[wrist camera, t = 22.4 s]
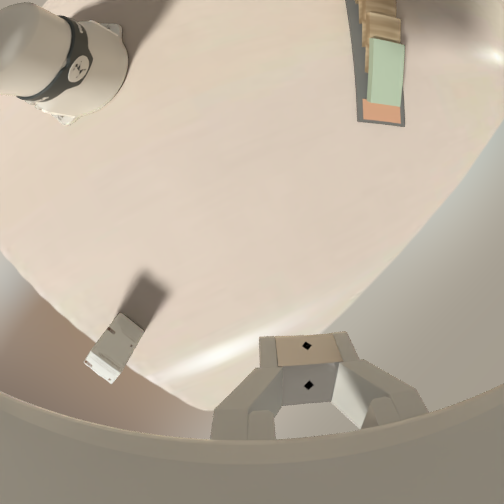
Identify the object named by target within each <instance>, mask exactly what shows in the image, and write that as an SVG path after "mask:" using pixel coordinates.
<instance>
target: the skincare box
mask: <svg viewBox="0 0 504 504" xmlns="http://www.w3.org/2000/svg"><path fill="white" fill-rule="evenodd" d="M143 334H144V331H143V330H142V329H141V328H140V327H139V326H138V325H136V324H135V323H134V322H133V321H131V320H130V319H129V318H127V317H126V316H125V315H124V314H122V313H119V314H118V315H117V317H116V318H115V319H114V320H113V322H112V323H111V324H110V326H109V327H108V328H107V329H106V331H105V332H104V333H103V335H102V336H101V337H100V339H99V340H98V341H97V343H96V344H95V345H94V347H93V348H92V349H91V351H90V352H89V354H88V356H87V357H86V359H85V360H84V363H85V364H86V365H87V366H88V367H90V368H91V369H92V370H93V371H94V372H96V373H97V374H98V375H99V376H101V377H103V378H104V379H105V380H107V381H108V382H110V383H111V384H112V383H113V382H114V381H115V379H116V378H117V377H118V376H119V374H121V372H122V371H123V369H124V367H125V365H126V363H127V362H128V360H129V358H130V356H131V354H132V353H133V351H134V349H135V347H136V346H137V344H138V342H139V340H140V339H141V337H142V335H143Z"/></svg>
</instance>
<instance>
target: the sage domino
mask: <svg viewBox="0 0 504 504" xmlns="http://www.w3.org/2000/svg"><path fill="white" fill-rule="evenodd" d="M404 52H405V45H402V44H398V43H394V42H390V41H385V40H380V39H375V38H369V70H368V88H367V101H368V102H370V103H377V104H384V105H391V106H398V107H400V105H401V95H402V84H403V71H404Z"/></svg>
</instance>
